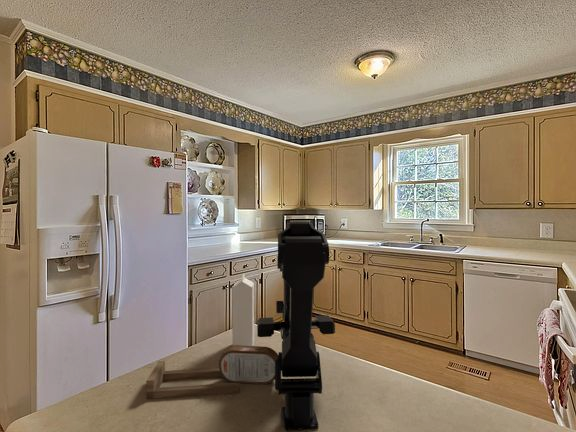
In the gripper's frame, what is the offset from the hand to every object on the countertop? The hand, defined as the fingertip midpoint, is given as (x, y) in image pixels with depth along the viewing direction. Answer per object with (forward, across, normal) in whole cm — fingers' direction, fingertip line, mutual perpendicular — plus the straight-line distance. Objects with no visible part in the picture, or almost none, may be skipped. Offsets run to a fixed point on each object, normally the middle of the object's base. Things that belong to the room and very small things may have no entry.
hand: (295, 360), depth 77 cm
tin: (+5, +11, 0) cm, 12 cm away
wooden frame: (+4, +23, 0) cm, 24 cm away
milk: (+5, +13, -20) cm, 24 cm away
